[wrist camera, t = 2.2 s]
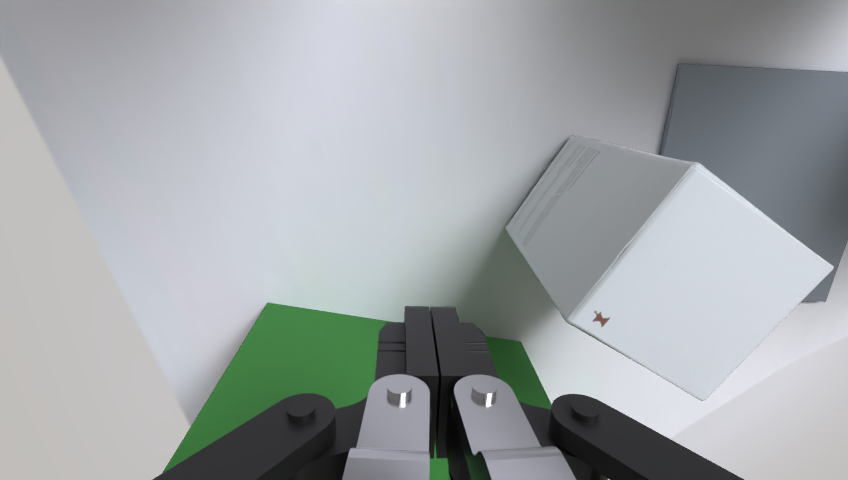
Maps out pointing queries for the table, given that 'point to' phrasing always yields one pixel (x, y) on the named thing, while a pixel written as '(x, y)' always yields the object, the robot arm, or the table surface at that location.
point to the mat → (771, 146)
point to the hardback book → (321, 372)
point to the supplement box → (661, 260)
